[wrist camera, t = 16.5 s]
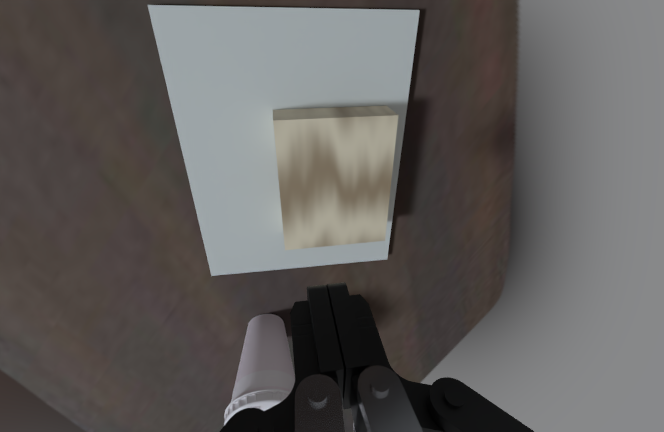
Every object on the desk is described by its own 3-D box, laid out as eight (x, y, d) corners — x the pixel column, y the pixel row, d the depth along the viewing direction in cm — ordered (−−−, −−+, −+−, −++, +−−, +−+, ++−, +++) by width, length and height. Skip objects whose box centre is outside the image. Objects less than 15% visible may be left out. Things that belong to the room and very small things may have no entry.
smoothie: (309, 317, 34) (329, 474, 23) (275, 352, 37) (278, 513, 25) (255, 295, 32) (247, 462, 20) (222, 335, 34) (197, 507, 22)
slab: (273, 120, 20) (398, 115, 21) (272, 109, 22) (386, 105, 23) (285, 250, 25) (384, 240, 27) (283, 231, 28) (375, 222, 29)
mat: (150, 5, 19) (147, 4, 18) (416, 10, 21) (419, 10, 21) (212, 271, 29) (211, 275, 29) (385, 255, 32) (387, 259, 31)
